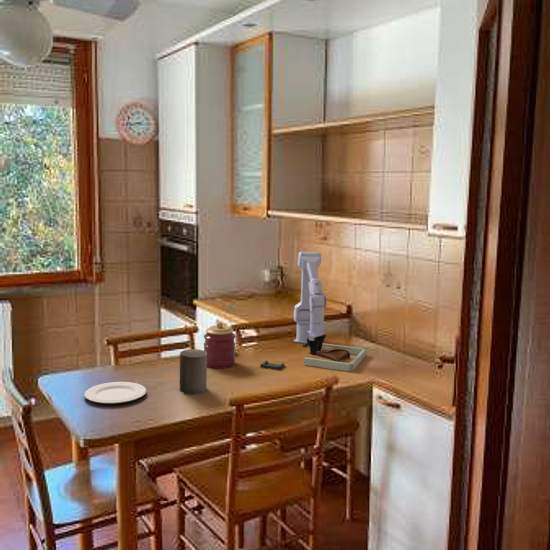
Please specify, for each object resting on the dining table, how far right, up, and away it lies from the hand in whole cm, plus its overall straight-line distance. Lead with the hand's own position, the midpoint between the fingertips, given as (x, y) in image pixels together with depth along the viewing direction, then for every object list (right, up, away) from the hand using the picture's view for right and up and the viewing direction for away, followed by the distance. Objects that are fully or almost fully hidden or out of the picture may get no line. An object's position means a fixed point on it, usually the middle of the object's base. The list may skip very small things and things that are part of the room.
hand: (315, 353), depth 261 cm
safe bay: (+8, -3, -3) cm, 9 cm away
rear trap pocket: (0, +1, +17) cm, 17 cm away
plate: (-73, -9, -50) cm, 89 cm away
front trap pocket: (-19, -4, -14) cm, 23 cm away
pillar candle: (-47, -8, -42) cm, 63 cm away
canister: (-40, -3, -12) cm, 42 cm away
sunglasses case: (+5, -2, +4) cm, 7 cm away
